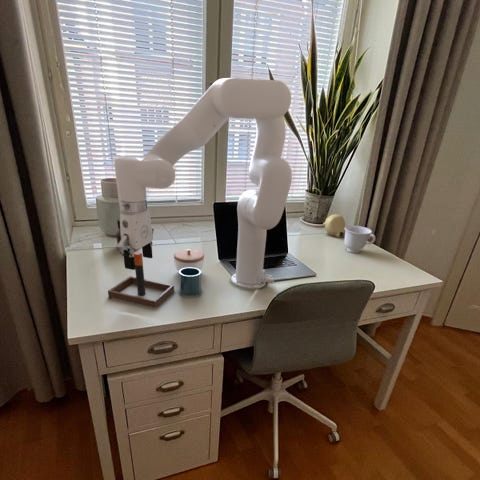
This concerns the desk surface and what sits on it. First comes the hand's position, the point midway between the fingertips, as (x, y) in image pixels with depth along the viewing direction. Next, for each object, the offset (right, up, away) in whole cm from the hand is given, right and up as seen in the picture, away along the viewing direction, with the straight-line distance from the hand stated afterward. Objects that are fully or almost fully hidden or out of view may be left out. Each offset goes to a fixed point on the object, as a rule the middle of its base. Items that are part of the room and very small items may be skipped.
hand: (139, 262), depth 106 cm
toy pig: (+79, +26, +73) cm, 110 cm away
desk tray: (-1, -10, +6) cm, 11 cm away
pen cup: (+14, -8, +10) cm, 19 cm away
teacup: (+84, +14, +53) cm, 101 cm away
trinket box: (+12, -1, +22) cm, 25 cm away
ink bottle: (-16, +13, +41) cm, 46 cm away
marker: (-1, -9, +6) cm, 11 cm away
